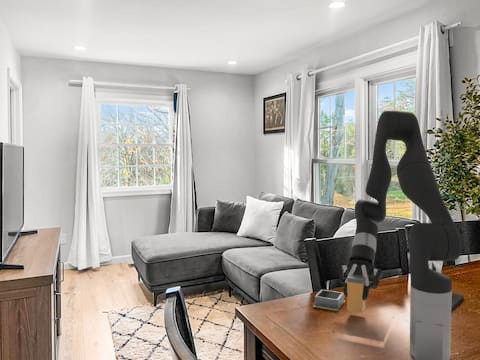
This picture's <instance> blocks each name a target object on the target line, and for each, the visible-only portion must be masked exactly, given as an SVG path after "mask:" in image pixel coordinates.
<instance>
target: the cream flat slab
mask: <svg viewBox="0 0 480 360" xmlns="http://www.w3.org/2000/svg"><path fill="white" fill-rule="evenodd" d="M345 302H346V300H345V299H344V302H343V303H342V305H341V306H340V307H339V309H332V308H327V307H321V306H315V304H313V306H312V307H314V308H317V309H318V308H319V309H325V310H331V311H337V312H338V311H339V310H340V308H341V307H342V306H343V304H345Z"/></svg>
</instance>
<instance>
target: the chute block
mask: <svg viewBox="0 0 480 360" xmlns="http://www.w3.org/2000/svg"><path fill="white" fill-rule="evenodd" d="M347 277H348V276H347ZM347 277H346V279H347V293H348V295H347V298H346V305H347V306H346V308H347V310H346V311H349V312H354V313H360V314H363V313H364V311H365V310H366V300H365V301H364V300H363V299H362V295H363V290H364V286H365V276H362V275H354V274H353V275H349V277H348V278H347Z"/></svg>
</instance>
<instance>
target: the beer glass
mask: <svg viewBox="0 0 480 360" xmlns="http://www.w3.org/2000/svg"><path fill="white" fill-rule="evenodd" d="M428 262H429V268H430V269H431V270H434V271H436V272H439V273H442V270H443V269H442V268H443V263H444V261H428Z"/></svg>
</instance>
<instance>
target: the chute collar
mask: <svg viewBox="0 0 480 360" xmlns="http://www.w3.org/2000/svg"><path fill="white" fill-rule="evenodd" d="M344 300H345V295H344V292H342V291H341V292H340V291H334V290H327V289H320V290H319V291H318V292H317V294H316V295H315V296H314V305H315V306H321V307H327V308H332V309H339V310H340V308H341V307H342V306H343V304H344V303H345V302H344ZM343 302H344V303H343ZM342 303H343V304H342ZM341 305H342V306H341ZM340 306H341V307H340ZM339 307H340V308H339Z"/></svg>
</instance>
